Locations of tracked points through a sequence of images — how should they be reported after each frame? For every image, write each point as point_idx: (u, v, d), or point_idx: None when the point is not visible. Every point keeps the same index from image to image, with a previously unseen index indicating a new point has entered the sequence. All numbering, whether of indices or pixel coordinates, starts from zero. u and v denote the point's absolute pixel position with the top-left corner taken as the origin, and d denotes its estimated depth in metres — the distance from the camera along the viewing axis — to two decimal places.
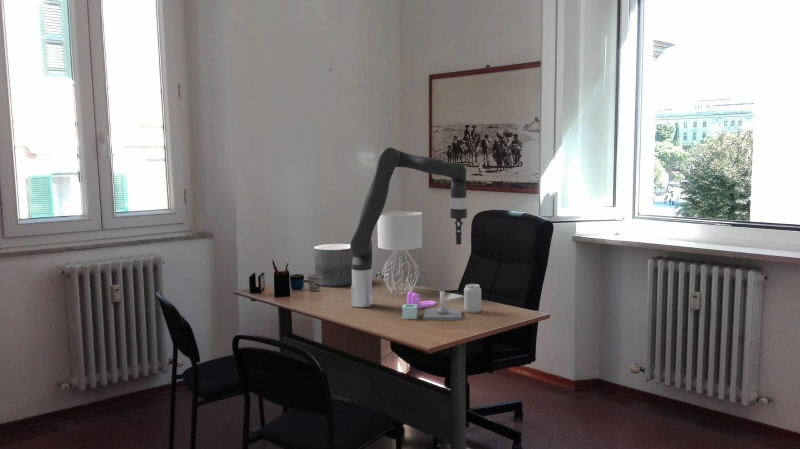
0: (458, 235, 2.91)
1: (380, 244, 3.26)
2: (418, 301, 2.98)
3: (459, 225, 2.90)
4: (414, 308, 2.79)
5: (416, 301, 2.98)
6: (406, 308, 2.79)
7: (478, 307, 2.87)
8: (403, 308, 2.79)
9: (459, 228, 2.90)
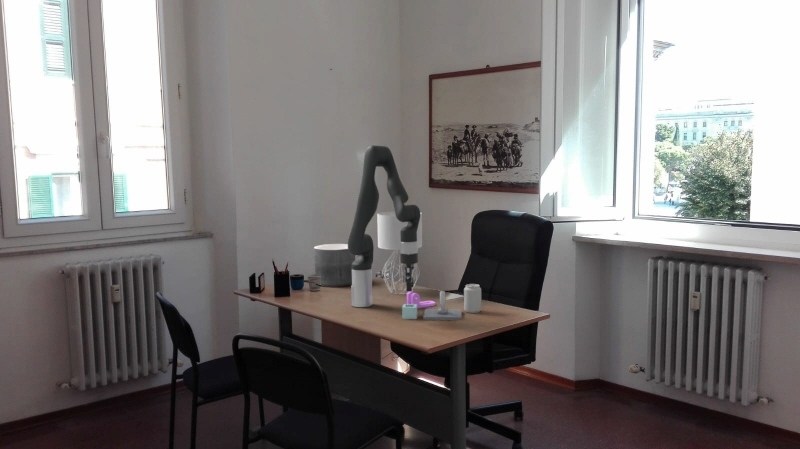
0: (408, 282, 2.74)
1: (380, 244, 3.26)
2: (418, 301, 2.98)
3: (409, 271, 2.73)
4: (414, 308, 2.79)
5: (416, 301, 2.98)
6: (406, 308, 2.79)
7: (478, 307, 2.87)
8: (403, 308, 2.79)
9: (409, 274, 2.73)
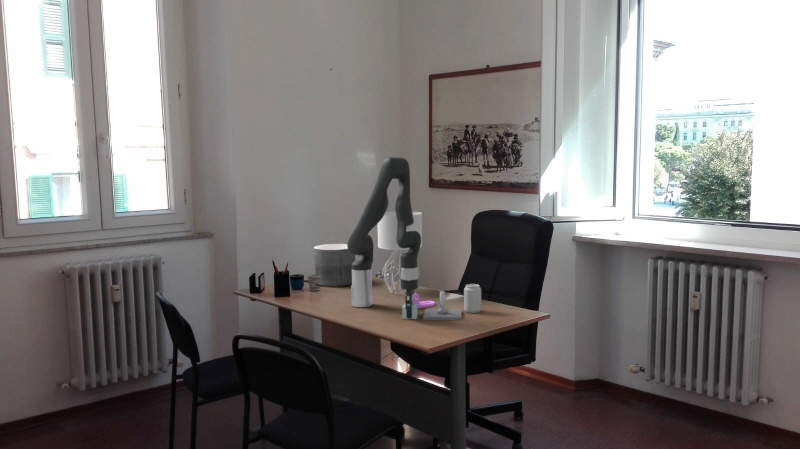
0: (408, 309, 2.77)
1: (380, 244, 3.26)
2: (418, 301, 2.98)
3: (409, 299, 2.75)
4: (414, 308, 2.79)
5: (416, 301, 2.98)
6: None
7: (478, 307, 2.87)
8: (403, 308, 2.79)
9: (409, 302, 2.75)
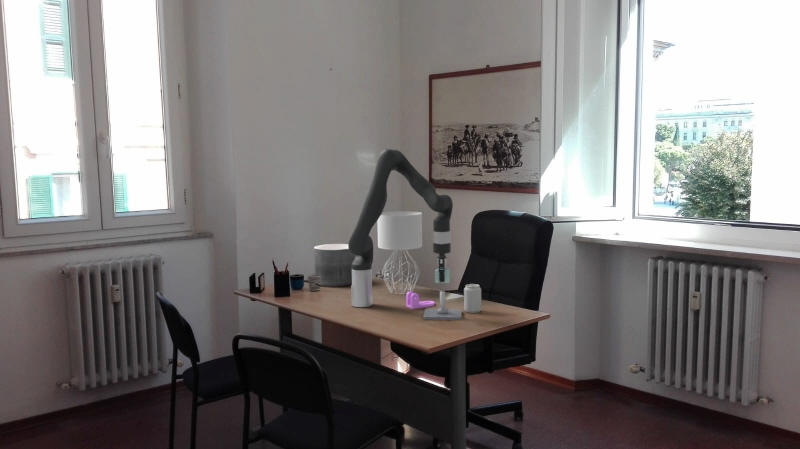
0: (441, 272, 2.77)
1: (380, 244, 3.26)
2: (417, 301, 2.98)
3: (442, 263, 2.75)
4: (447, 272, 2.79)
5: (415, 301, 2.98)
6: None
7: (478, 307, 2.87)
8: (436, 272, 2.79)
9: (442, 266, 2.75)
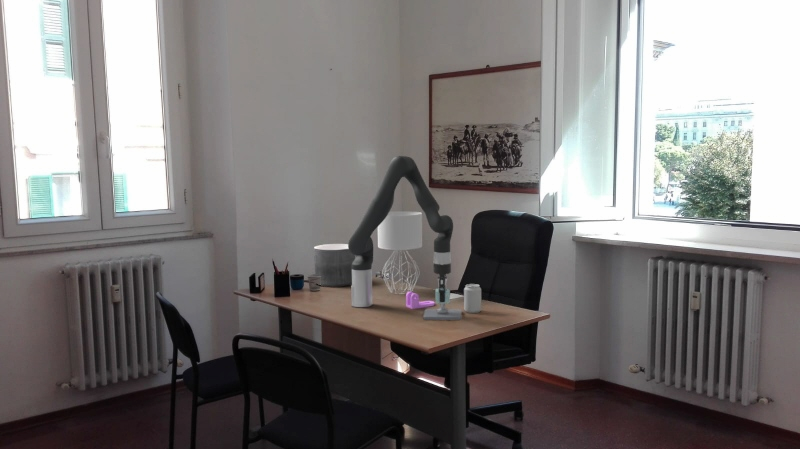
0: (442, 293, 2.78)
1: (380, 244, 3.26)
2: (417, 301, 2.98)
3: (442, 283, 2.76)
4: (447, 292, 2.80)
5: (415, 301, 2.98)
6: None
7: (478, 307, 2.87)
8: (436, 292, 2.80)
9: (442, 286, 2.76)
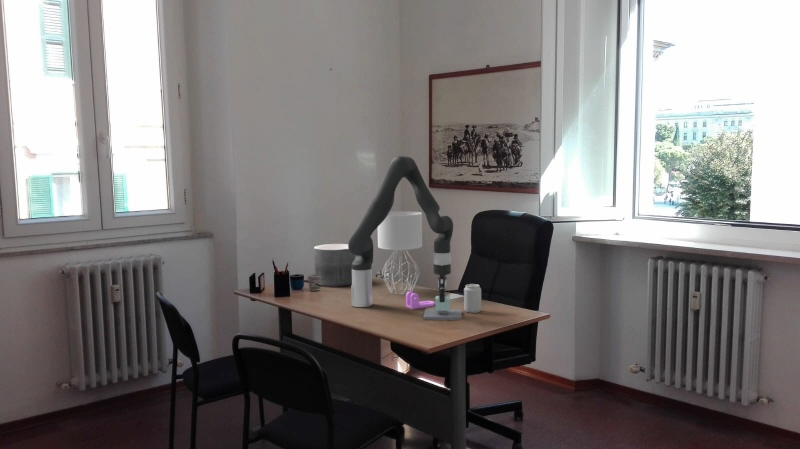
0: (441, 293, 2.77)
1: (380, 244, 3.26)
2: (417, 301, 2.98)
3: (442, 283, 2.75)
4: (447, 300, 2.80)
5: (415, 301, 2.98)
6: (439, 300, 2.80)
7: (478, 307, 2.87)
8: (436, 300, 2.80)
9: (442, 286, 2.76)
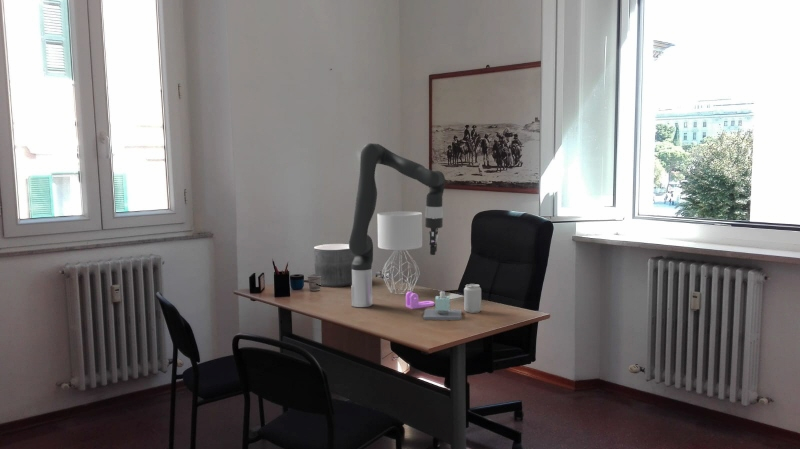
0: (432, 245, 2.82)
1: (380, 244, 3.26)
2: (417, 301, 2.98)
3: (433, 235, 2.81)
4: (447, 300, 2.80)
5: (415, 301, 2.98)
6: (439, 300, 2.80)
7: (478, 307, 2.87)
8: (436, 300, 2.80)
9: (433, 238, 2.81)
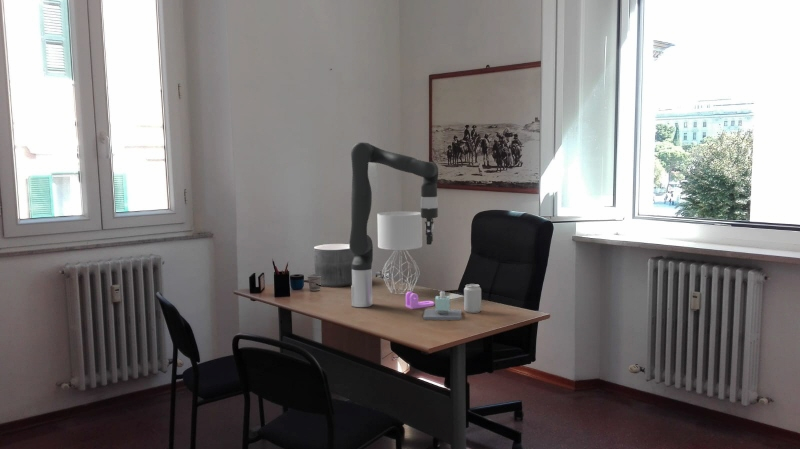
0: (428, 235, 2.86)
1: (380, 244, 3.26)
2: (416, 301, 2.98)
3: (429, 225, 2.85)
4: (447, 300, 2.80)
5: (414, 301, 2.98)
6: (439, 300, 2.80)
7: (478, 307, 2.87)
8: (436, 300, 2.80)
9: (429, 228, 2.85)
